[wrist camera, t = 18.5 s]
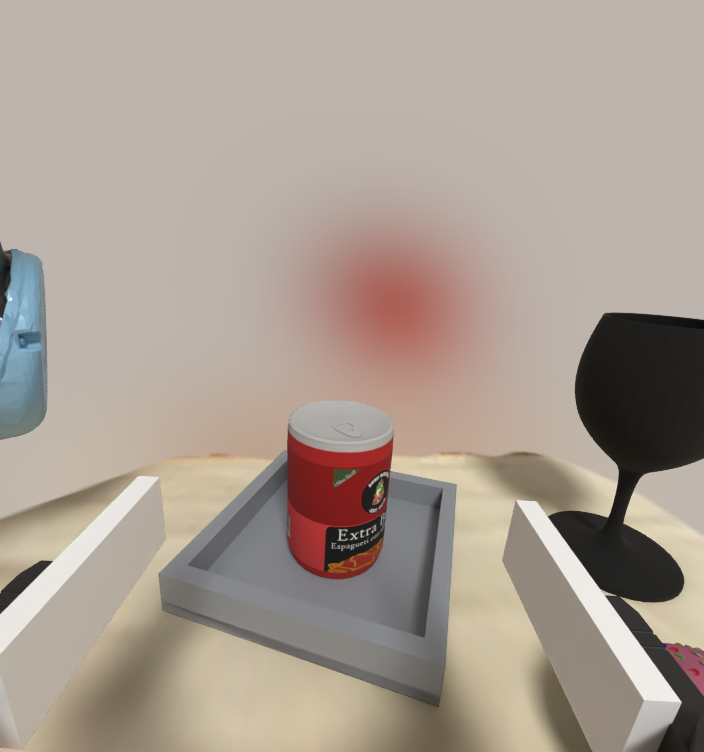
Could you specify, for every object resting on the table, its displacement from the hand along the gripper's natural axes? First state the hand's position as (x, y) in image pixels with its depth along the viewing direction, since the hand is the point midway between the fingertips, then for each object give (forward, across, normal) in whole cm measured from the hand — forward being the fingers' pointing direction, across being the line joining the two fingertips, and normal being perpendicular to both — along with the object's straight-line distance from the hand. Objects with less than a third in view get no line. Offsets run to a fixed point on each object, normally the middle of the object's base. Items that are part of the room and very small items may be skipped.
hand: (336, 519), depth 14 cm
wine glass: (+15, +23, -14) cm, 31 cm away
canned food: (+14, 0, -13) cm, 19 cm away
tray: (+14, 0, -14) cm, 19 cm away
